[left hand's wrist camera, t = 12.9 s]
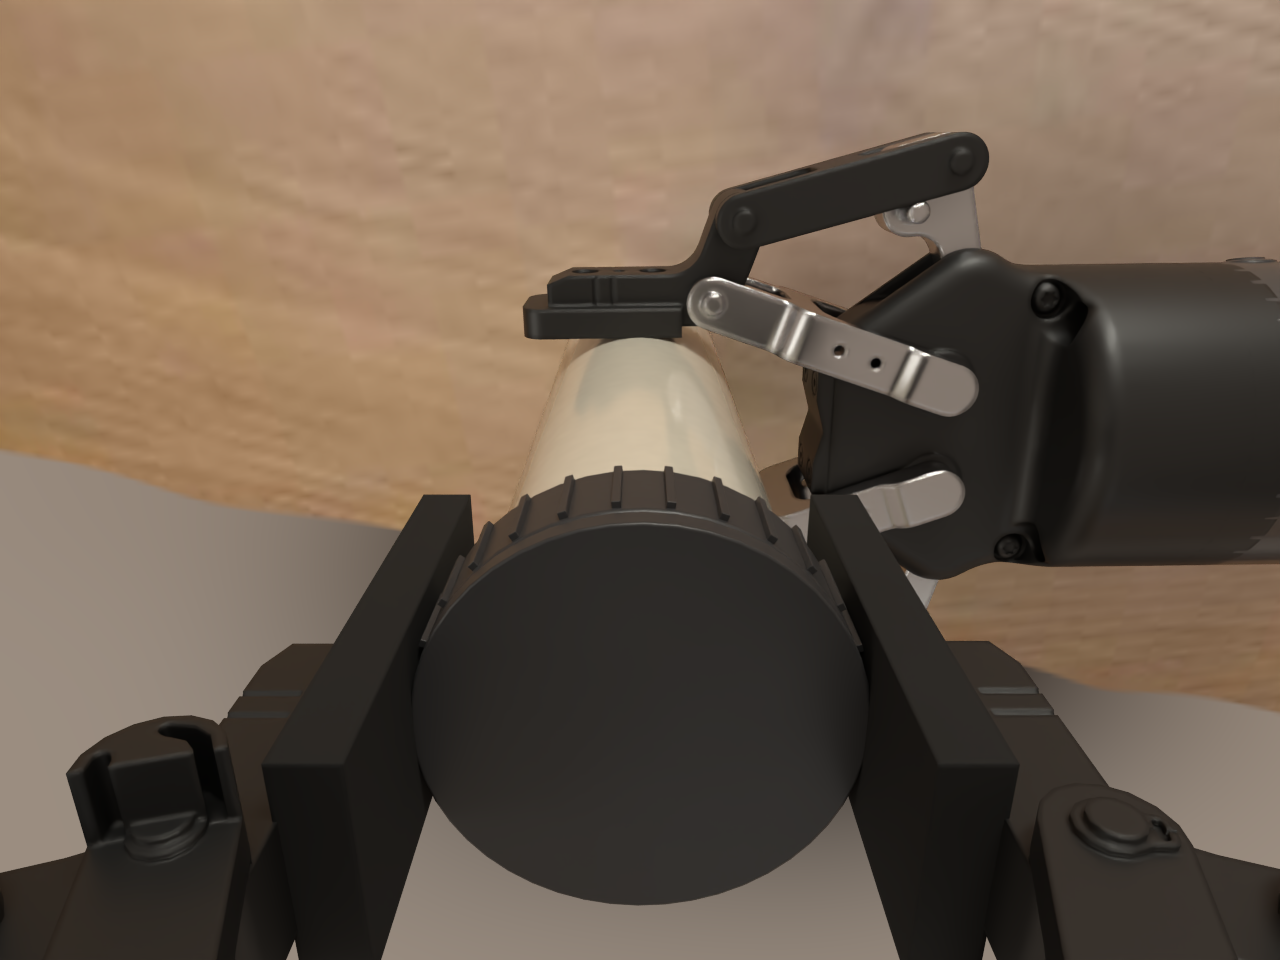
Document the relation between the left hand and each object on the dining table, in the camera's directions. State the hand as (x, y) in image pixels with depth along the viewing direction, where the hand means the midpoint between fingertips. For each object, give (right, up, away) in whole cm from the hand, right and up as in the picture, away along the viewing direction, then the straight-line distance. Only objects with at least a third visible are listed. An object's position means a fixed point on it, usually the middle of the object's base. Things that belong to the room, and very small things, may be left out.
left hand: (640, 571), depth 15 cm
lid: (0, -1, -4) cm, 4 cm away
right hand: (-3, +3, +8) cm, 9 cm away
